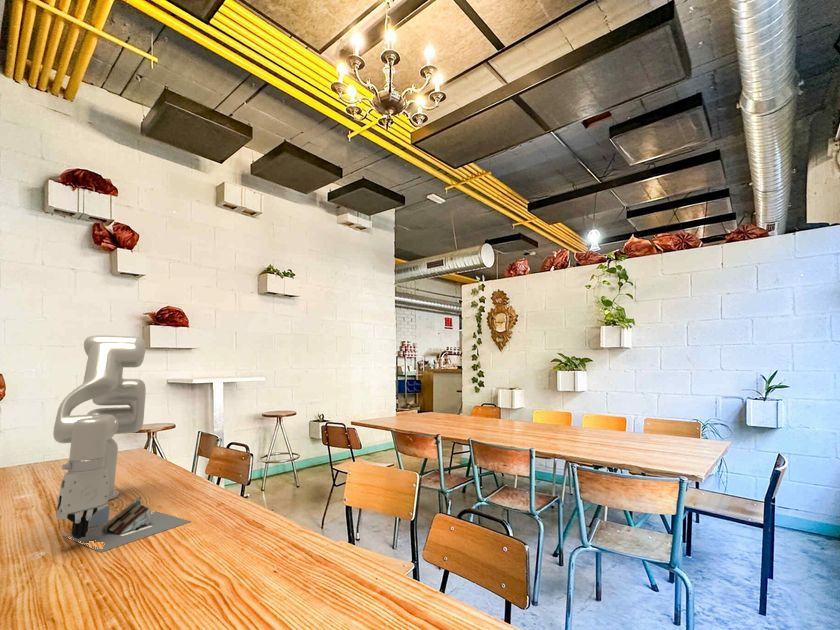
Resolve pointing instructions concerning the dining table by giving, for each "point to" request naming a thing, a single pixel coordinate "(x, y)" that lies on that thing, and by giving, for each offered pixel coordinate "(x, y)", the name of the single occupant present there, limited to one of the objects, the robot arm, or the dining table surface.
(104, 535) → the letter mat
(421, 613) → the dining table surface
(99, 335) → the robot arm
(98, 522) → the cube
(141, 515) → the chocolate cake
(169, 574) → the dining table surface
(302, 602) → the dining table surface
